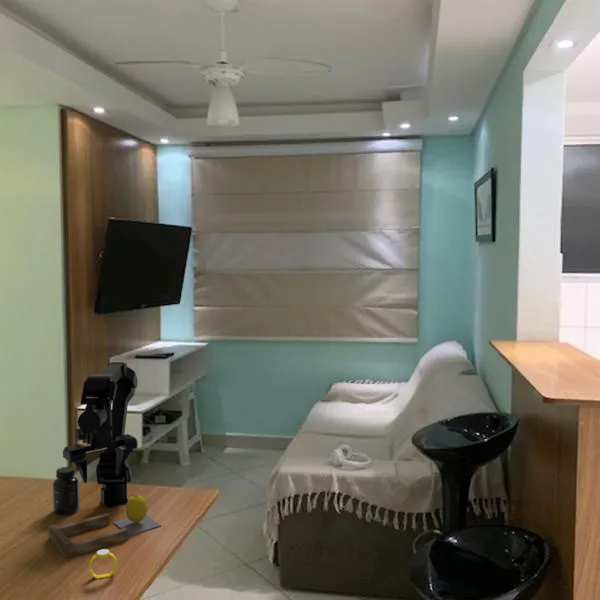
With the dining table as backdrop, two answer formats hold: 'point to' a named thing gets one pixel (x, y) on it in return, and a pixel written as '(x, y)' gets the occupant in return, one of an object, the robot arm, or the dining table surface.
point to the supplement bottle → (65, 492)
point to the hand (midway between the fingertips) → (101, 478)
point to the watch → (102, 554)
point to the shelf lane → (72, 549)
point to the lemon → (136, 508)
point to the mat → (137, 525)
